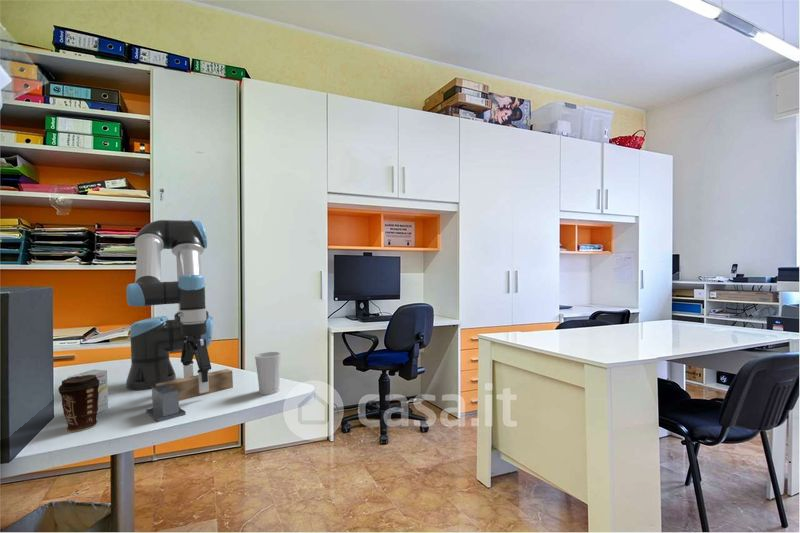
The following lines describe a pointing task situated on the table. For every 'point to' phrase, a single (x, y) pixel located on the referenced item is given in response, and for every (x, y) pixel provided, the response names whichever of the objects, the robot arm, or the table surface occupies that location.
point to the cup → (268, 372)
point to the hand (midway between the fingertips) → (196, 388)
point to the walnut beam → (191, 384)
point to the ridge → (165, 403)
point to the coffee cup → (80, 401)
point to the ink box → (102, 388)
